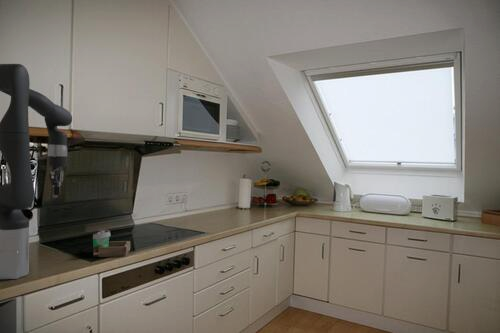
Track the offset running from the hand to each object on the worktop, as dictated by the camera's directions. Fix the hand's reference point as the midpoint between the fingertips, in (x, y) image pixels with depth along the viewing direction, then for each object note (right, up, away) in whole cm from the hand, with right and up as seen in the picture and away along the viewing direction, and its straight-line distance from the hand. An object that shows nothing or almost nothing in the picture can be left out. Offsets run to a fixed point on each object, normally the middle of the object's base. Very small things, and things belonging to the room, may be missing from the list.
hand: (56, 195), depth 152 cm
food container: (+18, -27, +6) cm, 33 cm away
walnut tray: (+23, -27, +7) cm, 36 cm away
